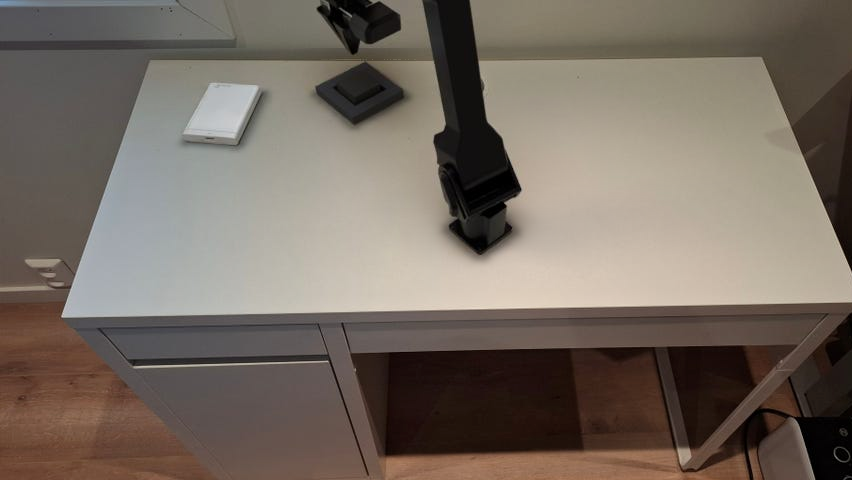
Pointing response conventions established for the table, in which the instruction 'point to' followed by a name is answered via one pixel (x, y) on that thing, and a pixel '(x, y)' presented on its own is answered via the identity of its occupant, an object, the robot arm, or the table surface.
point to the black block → (358, 87)
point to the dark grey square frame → (368, 107)
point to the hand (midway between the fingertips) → (353, 53)
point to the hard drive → (222, 114)
